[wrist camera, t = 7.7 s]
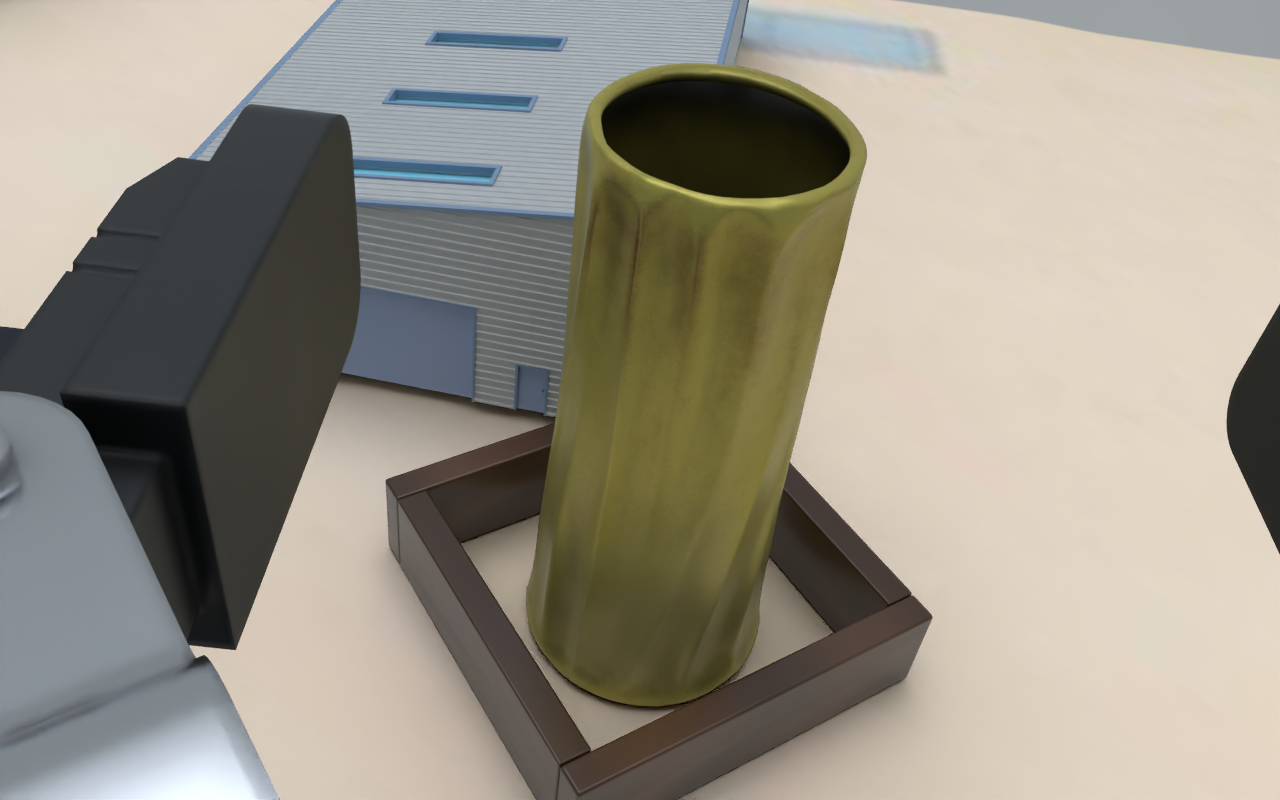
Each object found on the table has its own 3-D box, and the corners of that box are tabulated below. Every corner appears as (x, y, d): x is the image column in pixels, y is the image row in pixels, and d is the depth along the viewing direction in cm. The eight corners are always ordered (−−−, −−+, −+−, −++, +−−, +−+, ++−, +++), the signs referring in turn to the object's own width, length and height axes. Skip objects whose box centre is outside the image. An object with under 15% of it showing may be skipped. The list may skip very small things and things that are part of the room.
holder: (569, 857, 26) (577, 796, 24) (387, 545, 32) (384, 478, 30) (907, 678, 30) (934, 616, 29) (693, 435, 36) (705, 371, 34)
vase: (480, 642, 30) (496, 143, 20) (594, 493, 34) (652, 22, 24) (699, 751, 28) (828, 265, 19) (789, 579, 32) (932, 112, 23)
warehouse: (458, -15, 59) (460, -178, 54) (742, 35, 58) (770, -125, 53) (188, 348, 36) (148, 125, 31) (648, 437, 35) (683, 224, 30)
